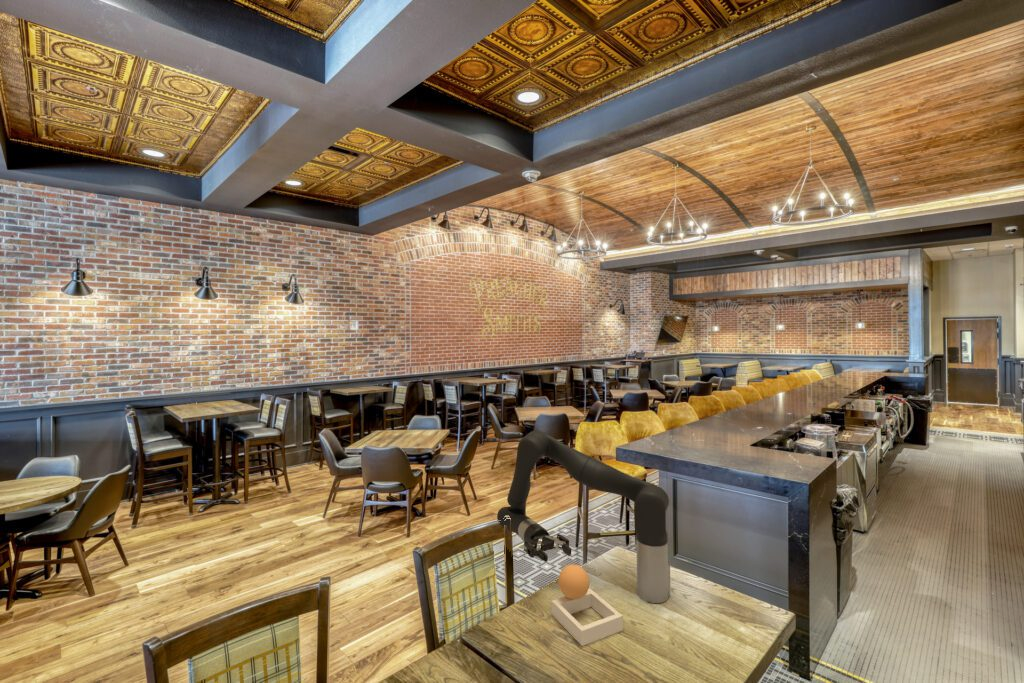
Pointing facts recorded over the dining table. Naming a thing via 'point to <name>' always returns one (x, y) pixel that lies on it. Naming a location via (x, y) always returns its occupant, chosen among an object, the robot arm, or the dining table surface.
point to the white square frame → (594, 630)
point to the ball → (573, 581)
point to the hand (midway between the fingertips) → (558, 555)
